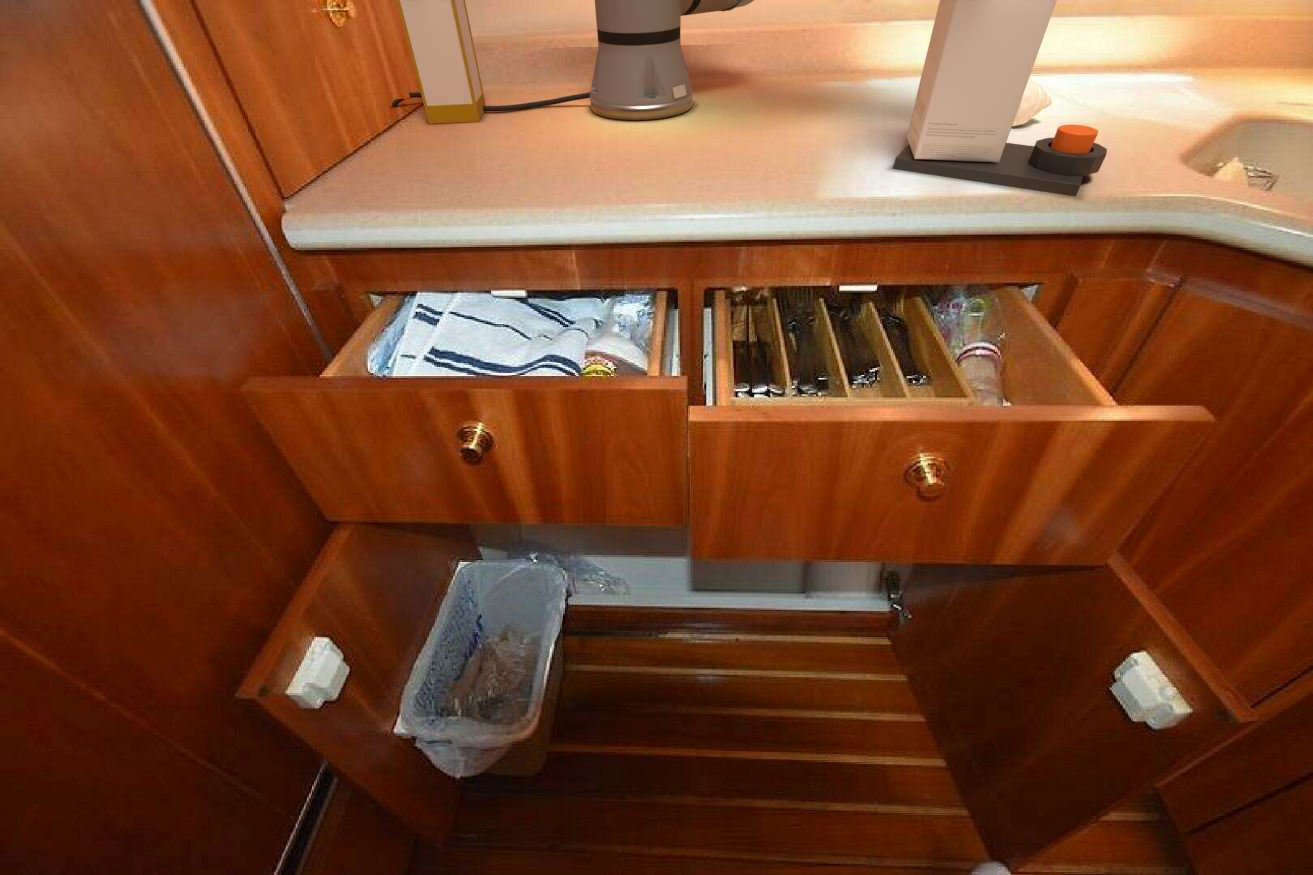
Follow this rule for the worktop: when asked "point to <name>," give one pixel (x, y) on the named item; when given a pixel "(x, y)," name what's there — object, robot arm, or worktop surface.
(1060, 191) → the base
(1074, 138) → the switch
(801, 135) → the worktop surface
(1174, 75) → the worktop surface
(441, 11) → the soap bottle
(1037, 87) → the garlic bulb
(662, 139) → the worktop surface
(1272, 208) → the worktop surface
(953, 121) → the rectangular carton
